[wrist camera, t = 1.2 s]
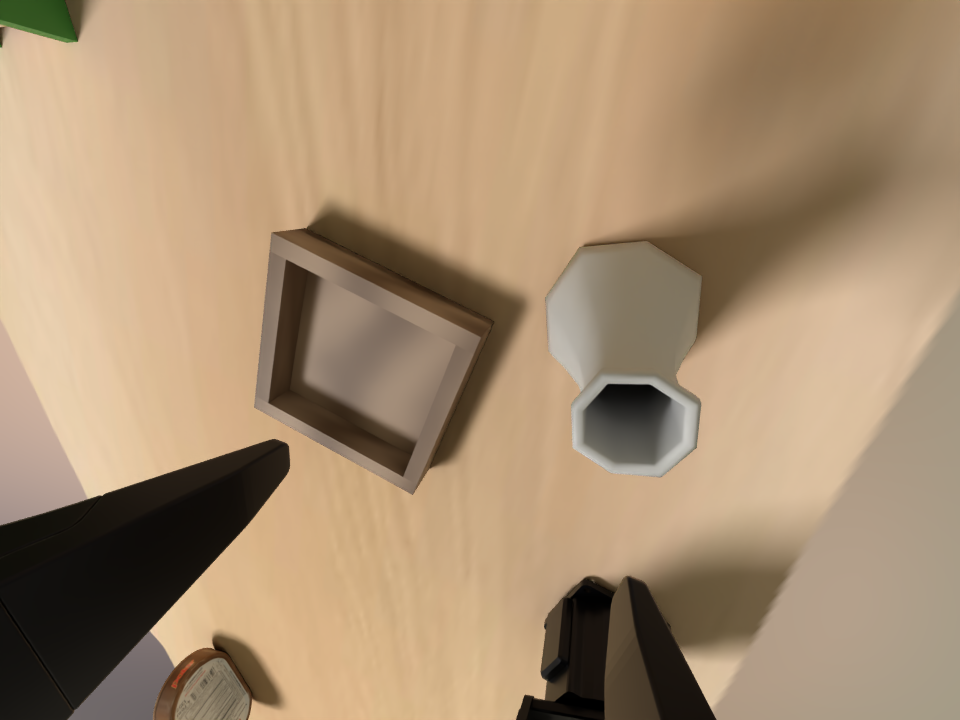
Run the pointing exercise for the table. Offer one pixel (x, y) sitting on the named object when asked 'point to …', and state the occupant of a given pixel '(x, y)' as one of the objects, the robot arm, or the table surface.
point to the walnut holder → (362, 356)
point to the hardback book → (38, 18)
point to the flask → (627, 354)
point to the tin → (204, 690)
